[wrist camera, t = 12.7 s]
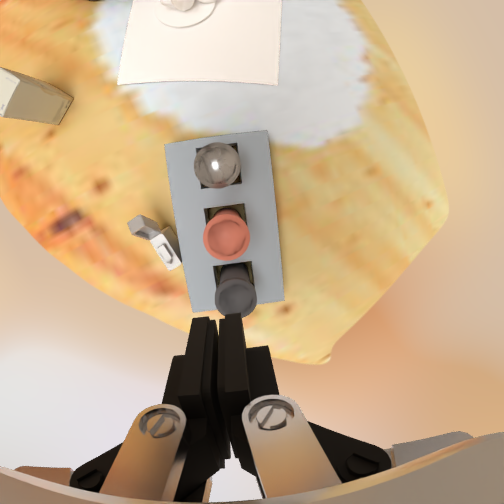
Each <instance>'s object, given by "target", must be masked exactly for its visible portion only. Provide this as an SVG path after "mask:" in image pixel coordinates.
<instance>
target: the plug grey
mask: <svg viewBox="0 0 504 504" xmlns="http://www.w3.org/2000/svg"><path fill="white" fill-rule="evenodd" d="M240 169H241V161H240V158H239V155H238V153H237V152H236V151H235V149H234V148H232V147H231V146H230V145H228V144H225V143H221V142H215V143H210V144H208V145H206V146H204V147H203V148H202V149H201V150H200V151H199V152H198V153H197V155H196V157H195V160H194V172H195V175H196V177H197V178H198V180H199V181H200V182H201V183H202V184H204V185H205V186H207V187H210V188H214V189H219V188H224V187H227V186H229V185H230V184H232V183H233V182H234V181H235V180H236V178H237V177H238V175H239V173H240Z"/></svg>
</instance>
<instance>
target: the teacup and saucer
mask: <svg viewBox="0 0 504 504" xmlns="http://www.w3.org/2000/svg"><path fill="white" fill-rule="evenodd" d="M216 1H217V0H155V2H154V6H153V13H154V16H155V18H156V19H157V20H158V21H159V22H160V23H161V24H163V25H165V26H168V27H171V28H186V27H191V26H194V25H196V24H199V23H201V22H202V21H204V20H205V19H206V18H208V17H209V16H210V15H211V13H212V12H213V11H214V9H215V6H216Z"/></svg>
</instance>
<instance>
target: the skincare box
mask: <svg viewBox="0 0 504 504" xmlns="http://www.w3.org/2000/svg"><path fill="white" fill-rule="evenodd" d="M72 100H73V98H72V97H71V96H69V95H68V94H66V93H65V92H63V91H61V90H60V89H58V88H56V87H54V86H53V85H51V84H49V83H46V82H44V81H41V80H38V79H35V78H33V77H30V76H27V75H24V74H21V73H18V72H15V71H11V70H8V69H5V68H2V67H0V116H1V117H6V118H14V119H21V120H28V121H35V122H42V123H48V124H54V125H59V123H60V121H61V119H62V118H63V116H64V114H65V112H66V111H67V109H68V107H69V105H70V104H71V102H72Z"/></svg>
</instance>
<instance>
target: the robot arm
mask: <svg viewBox="0 0 504 504" xmlns="http://www.w3.org/2000/svg"><path fill="white" fill-rule="evenodd" d="M230 442H231V445H232V448H233V452H234V455H235V458H239V461H240V464H241V468H242V469H244V470H246V471H247V472H249V473H251V474H252V475H254V476H256V480H257V483H258V487H259V490H260V492H261V495H262V499H257V500H247V501H234V502H211V503H210V502H209V497H210V492H211V487H212V477H211V476H212V475H213V474H215V473H216V472H217V471H219V469H221V468H225V459H230V458H231V452H230ZM0 504H504V432H499V433H494V434H488V435H484V436H480V437H475V438H473V437H472V436H471V435H469V434H468V433H465V432H460V431H458V432H451V433H447V434H443V435H439V436H435V437H430V438H426V439H422V440H417V441H412V442H406V443H401V444H395V445H392V448H390V449H384V450H383V449H381V448H379V447H377V446H375V445H372V444H369V443H366V442H362V441H360V440H357V439H354V438H351V437H348V436H345V435H342V434H340V433H337V432H334V431H332V430H329V429H326V428H324V427H321V426H319V425H316V424H314V423H311V422H308V421H307V420H306V418H305V416H304V414H303V413H302V411H301V409H300V407H299V406H298V404H297V403H296V402H295V401H294V400H292V399H290V398H288V397H285V396H282V395H279V391H278V386H277V382H276V378H275V373H274V369H273V365H272V360H271V355H270V351H269V347H268V345H267V346H260V347H253V348H246V342H245V336H244V329H243V323H242V316H241V312H240V313H232V314H225V319H220V320H219V335H218V330H217V325H216V321H215V320H210V319H209V316H208V317H199V318H193V319H192V323H191V328H190V333H189V338H188V342H187V347H186V352H185V355H178V356H174V357H173V359H172V363H171V368H170V371H169V375H168V380H167V384H166V388H165V392H164V396H163V401H162V404H158V405H154V406H151V407H149V408H146V409H145V410H143V411H142V412H141V413H139V414H138V416H137V417H136V419H135V420H134V422H133V424H132V426H131V428H130V430H129V432H128V434H127V436H126V439H125V440H124V442H123V443H121V444H119V445H118V446H116V447H114V448H112V449H111V450H109V451H107V452H105V453H103V454H102V455H100V456H98V457H96V458H95V459H93V460H91V461H89V462H87V463H85V464H83V465H82V466H80V467H79V468H77V469H76V470H75V471H73V470H72V469H71V468H49V467H31V466H22V467H18V468H16V469H15V470H12V469H8V468H4V467H0Z"/></svg>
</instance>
